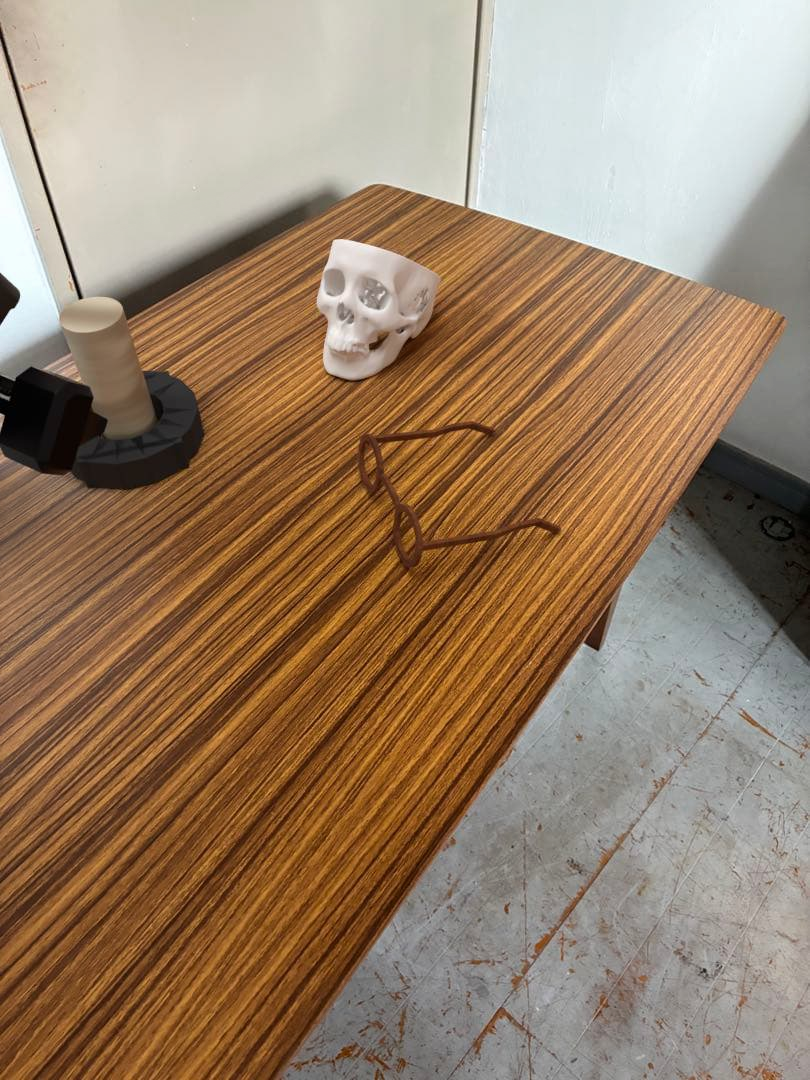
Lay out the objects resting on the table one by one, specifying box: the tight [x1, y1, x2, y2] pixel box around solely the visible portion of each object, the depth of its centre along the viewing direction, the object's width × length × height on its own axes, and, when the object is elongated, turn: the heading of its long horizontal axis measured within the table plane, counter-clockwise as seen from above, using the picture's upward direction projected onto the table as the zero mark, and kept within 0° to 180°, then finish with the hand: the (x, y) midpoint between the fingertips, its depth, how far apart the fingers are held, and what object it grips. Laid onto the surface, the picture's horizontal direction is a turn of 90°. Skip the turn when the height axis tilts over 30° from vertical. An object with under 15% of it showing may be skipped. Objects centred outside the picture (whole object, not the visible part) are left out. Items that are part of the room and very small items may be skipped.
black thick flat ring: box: [70, 370, 205, 490], centre depth 71 cm, size 12×12×3 cm
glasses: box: [357, 420, 562, 569], centre depth 66 cm, size 13×13×5 cm
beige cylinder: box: [58, 296, 159, 440], centre depth 68 cm, size 5×5×13 cm
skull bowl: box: [316, 238, 442, 381], centre depth 80 cm, size 10×14×12 cm
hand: (59, 406), depth 63 cm, fingers open, 9 cm apart
